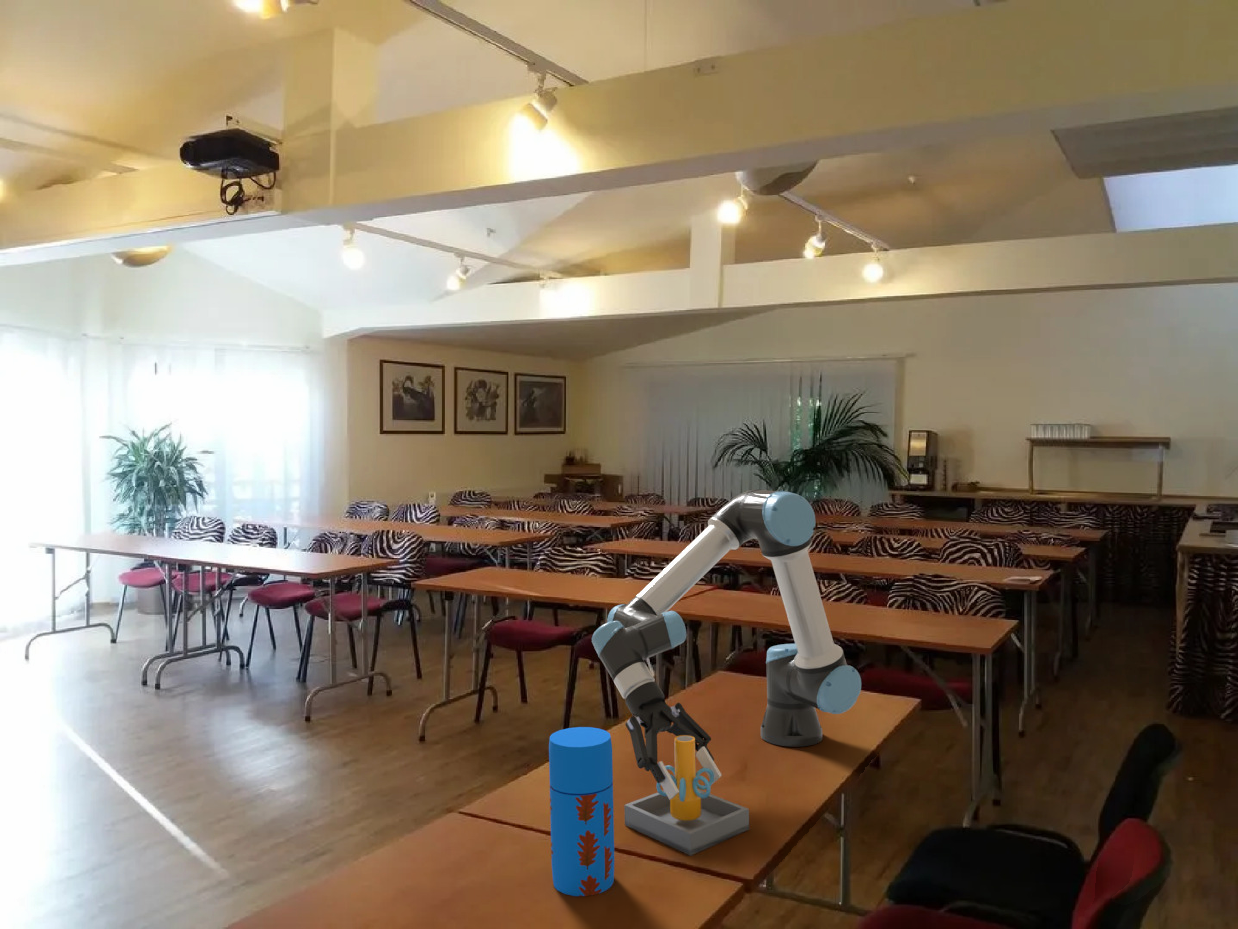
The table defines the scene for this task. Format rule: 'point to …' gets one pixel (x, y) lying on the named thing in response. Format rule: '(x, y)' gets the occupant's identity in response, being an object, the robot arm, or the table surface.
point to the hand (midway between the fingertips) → (696, 787)
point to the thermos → (581, 810)
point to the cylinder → (687, 781)
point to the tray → (687, 822)
